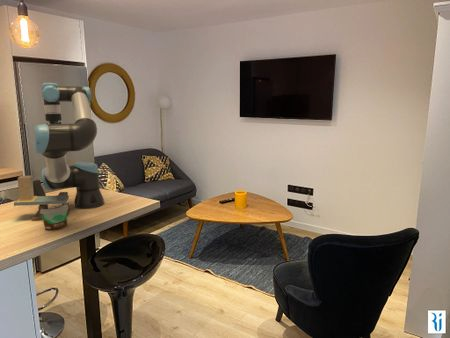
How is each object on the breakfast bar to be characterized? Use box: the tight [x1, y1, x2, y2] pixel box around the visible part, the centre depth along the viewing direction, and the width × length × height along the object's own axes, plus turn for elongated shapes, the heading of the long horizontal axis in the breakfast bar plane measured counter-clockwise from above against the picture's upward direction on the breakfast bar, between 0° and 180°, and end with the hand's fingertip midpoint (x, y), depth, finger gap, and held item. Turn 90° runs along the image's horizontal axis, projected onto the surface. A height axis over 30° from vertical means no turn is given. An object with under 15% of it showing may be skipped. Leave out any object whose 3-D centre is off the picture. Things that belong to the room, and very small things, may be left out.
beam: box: [13, 191, 70, 207], centre depth 164 cm, size 22×10×4 cm, turn 107°
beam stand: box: [31, 202, 71, 222], centre depth 166 cm, size 15×13×6 cm
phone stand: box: [33, 179, 47, 196], centre depth 188 cm, size 9×6×12 cm, turn 88°
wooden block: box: [17, 175, 34, 201], centre depth 161 cm, size 5×5×11 cm
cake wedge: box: [40, 202, 69, 231], centre depth 149 cm, size 12×6×10 cm, turn 148°
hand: (57, 153), depth 180 cm, fingers open, 13 cm apart
